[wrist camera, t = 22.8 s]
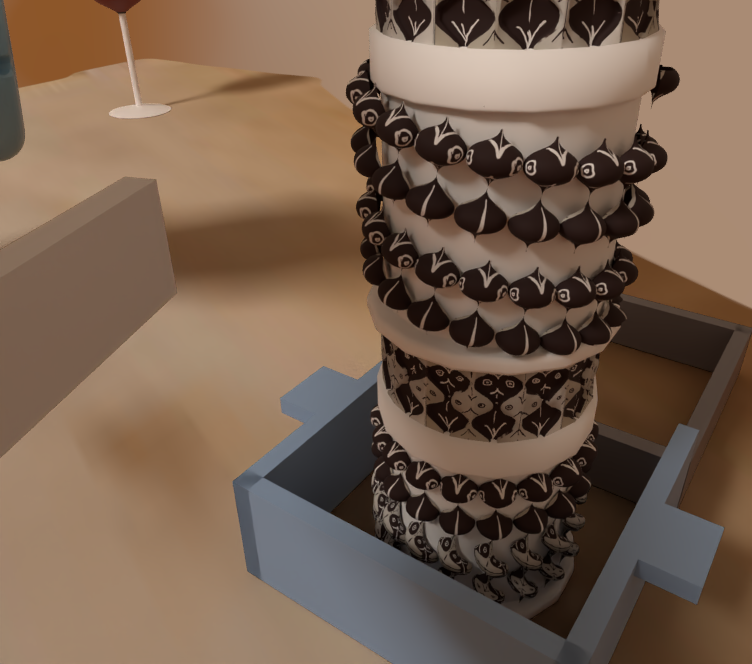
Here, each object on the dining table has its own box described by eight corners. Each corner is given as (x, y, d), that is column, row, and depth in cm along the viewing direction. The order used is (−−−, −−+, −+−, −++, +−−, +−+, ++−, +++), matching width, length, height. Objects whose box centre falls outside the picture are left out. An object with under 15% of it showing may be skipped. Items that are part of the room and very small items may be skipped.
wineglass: (97, 109, 97) (57, -74, 85) (165, 99, 101) (136, -76, 89) (111, 122, 90) (70, -73, 79) (183, 112, 94) (154, -76, 83)
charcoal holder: (673, 518, 31) (688, 467, 29) (414, 411, 38) (415, 365, 36) (739, 372, 40) (753, 328, 39) (522, 308, 47) (526, 268, 45)
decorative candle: (409, 447, 35) (414, -159, 22) (599, 498, 32) (737, -177, 19) (328, 588, 28) (261, -184, 15) (561, 672, 25) (741, -221, 12)
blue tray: (623, 810, 21) (656, 716, 18) (213, 549, 30) (196, 461, 27) (721, 538, 30) (753, 448, 27) (383, 399, 38) (382, 321, 36)
